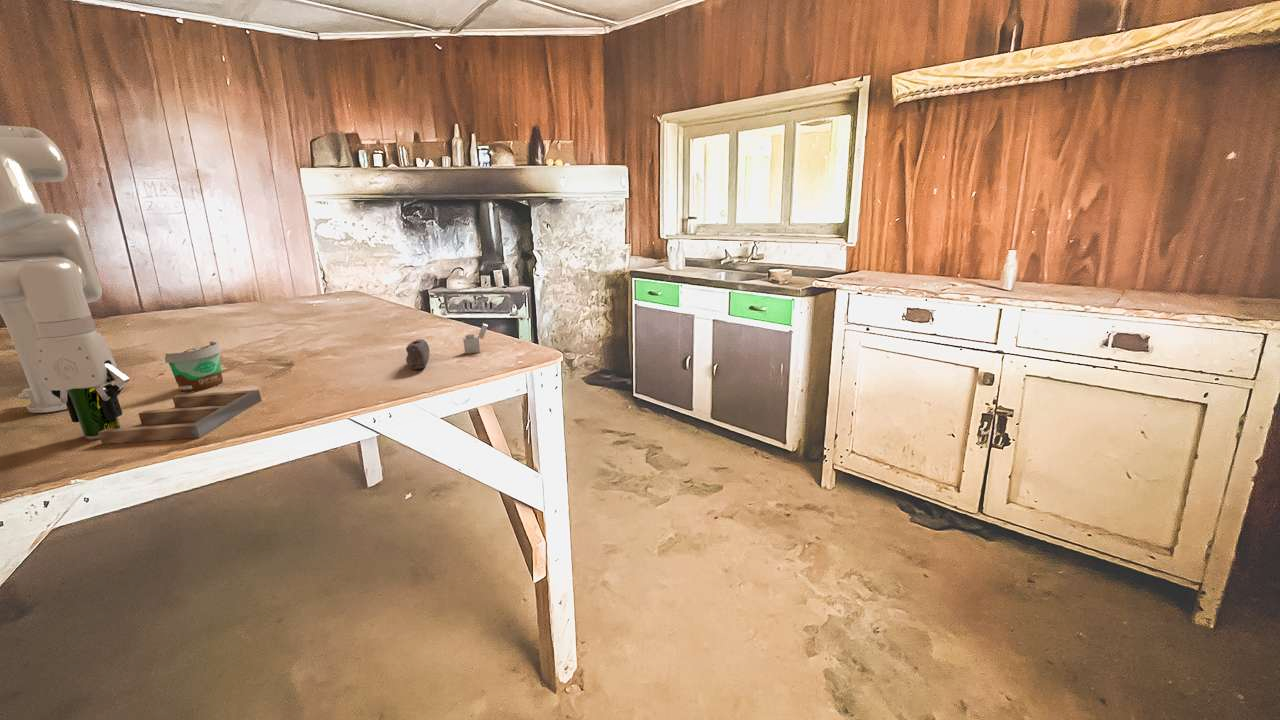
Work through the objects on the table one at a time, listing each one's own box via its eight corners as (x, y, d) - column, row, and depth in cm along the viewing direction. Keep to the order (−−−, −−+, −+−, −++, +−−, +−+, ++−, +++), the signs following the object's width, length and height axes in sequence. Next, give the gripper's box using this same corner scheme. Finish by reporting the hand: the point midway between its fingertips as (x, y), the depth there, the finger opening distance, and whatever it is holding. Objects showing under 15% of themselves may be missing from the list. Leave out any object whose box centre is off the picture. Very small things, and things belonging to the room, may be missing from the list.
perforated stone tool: (416, 358, 154) (412, 334, 152) (435, 356, 155) (432, 332, 153) (405, 374, 140) (400, 347, 138) (426, 372, 141) (422, 345, 139)
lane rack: (102, 444, 104) (98, 432, 103) (180, 405, 124) (177, 395, 123) (199, 437, 105) (196, 425, 105) (261, 400, 125) (258, 389, 124)
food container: (195, 395, 130) (184, 354, 127) (174, 394, 132) (162, 354, 129) (241, 378, 142) (231, 341, 139) (221, 378, 143) (211, 340, 140)
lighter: (465, 353, 156) (461, 326, 154) (465, 352, 158) (461, 325, 156) (490, 351, 158) (487, 323, 156) (490, 349, 160) (487, 322, 157)
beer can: (77, 441, 106) (56, 382, 103) (96, 430, 111) (77, 374, 108) (110, 437, 107) (90, 379, 104) (128, 427, 112) (109, 371, 109)
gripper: (-4, 336, 99) (32, 429, 104) (98, 330, 100) (129, 422, 105) (37, 326, 106) (68, 414, 111) (131, 321, 107) (158, 408, 112)
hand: (97, 417), depth 108 cm, fingers closed on beer can, 5 cm apart
